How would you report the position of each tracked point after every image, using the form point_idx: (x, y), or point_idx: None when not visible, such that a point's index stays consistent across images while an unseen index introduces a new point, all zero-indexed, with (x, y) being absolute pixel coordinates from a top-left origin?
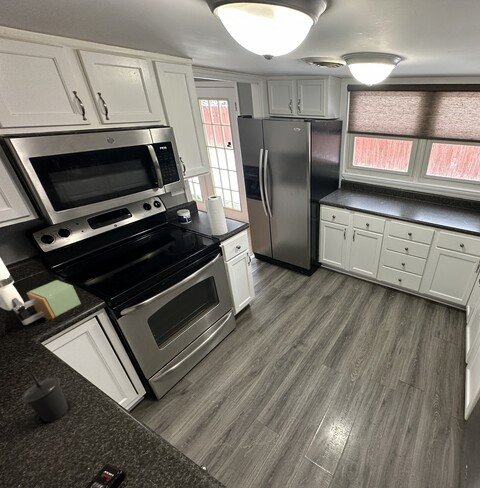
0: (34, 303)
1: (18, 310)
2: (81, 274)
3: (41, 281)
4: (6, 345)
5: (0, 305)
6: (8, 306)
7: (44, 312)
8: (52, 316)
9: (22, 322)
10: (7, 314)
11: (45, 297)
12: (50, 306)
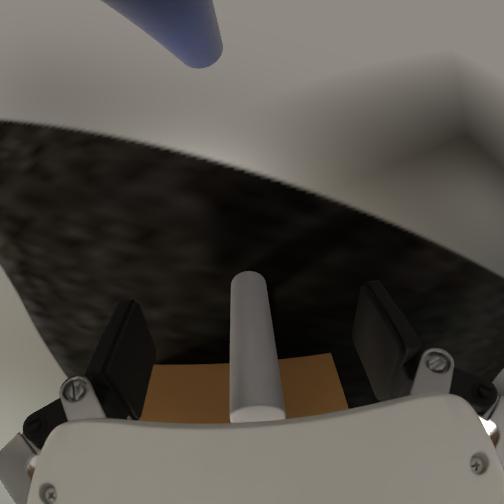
0: None
1: (66, 418)
2: None
3: (490, 381)
4: (25, 126)
5: (267, 491)
6: (31, 485)
7: (223, 373)
8: (153, 366)
9: (242, 273)
10: (369, 285)
11: None
12: None
